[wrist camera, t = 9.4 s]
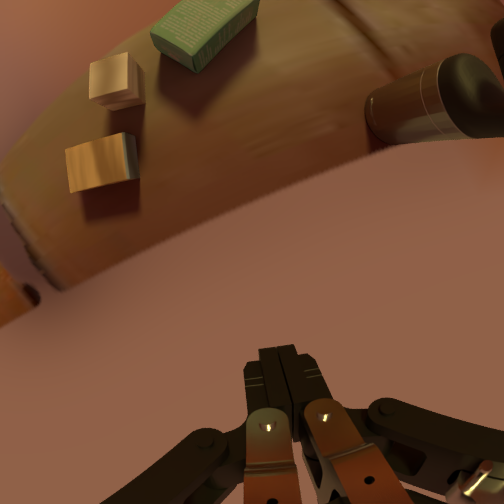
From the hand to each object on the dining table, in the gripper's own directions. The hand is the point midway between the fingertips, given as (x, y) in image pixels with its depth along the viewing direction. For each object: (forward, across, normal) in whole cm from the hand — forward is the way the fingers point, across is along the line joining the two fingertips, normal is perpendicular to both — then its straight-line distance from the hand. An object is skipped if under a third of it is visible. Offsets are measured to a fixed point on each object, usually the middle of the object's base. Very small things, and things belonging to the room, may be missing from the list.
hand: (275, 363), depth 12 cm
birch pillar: (+29, +14, -22) cm, 39 cm away
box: (+29, +2, -30) cm, 42 cm away
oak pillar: (+27, +13, -12) cm, 32 cm away
